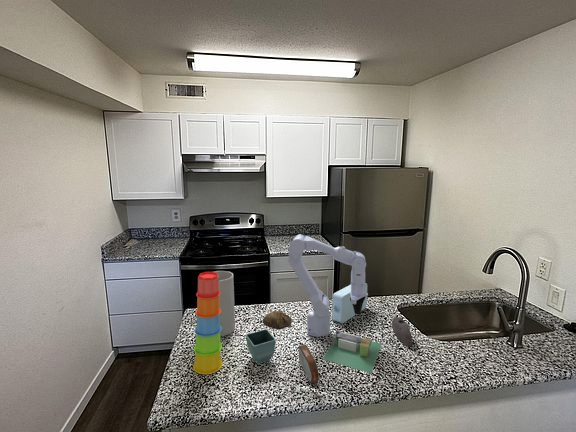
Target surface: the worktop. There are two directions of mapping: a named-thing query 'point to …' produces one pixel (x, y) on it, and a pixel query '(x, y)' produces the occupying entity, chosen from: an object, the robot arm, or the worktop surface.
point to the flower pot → (261, 345)
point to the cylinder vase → (226, 302)
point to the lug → (365, 347)
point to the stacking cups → (208, 325)
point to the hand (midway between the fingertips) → (357, 313)
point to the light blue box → (344, 305)
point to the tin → (308, 364)
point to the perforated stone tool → (402, 331)
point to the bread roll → (277, 319)
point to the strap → (349, 338)
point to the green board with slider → (352, 354)
